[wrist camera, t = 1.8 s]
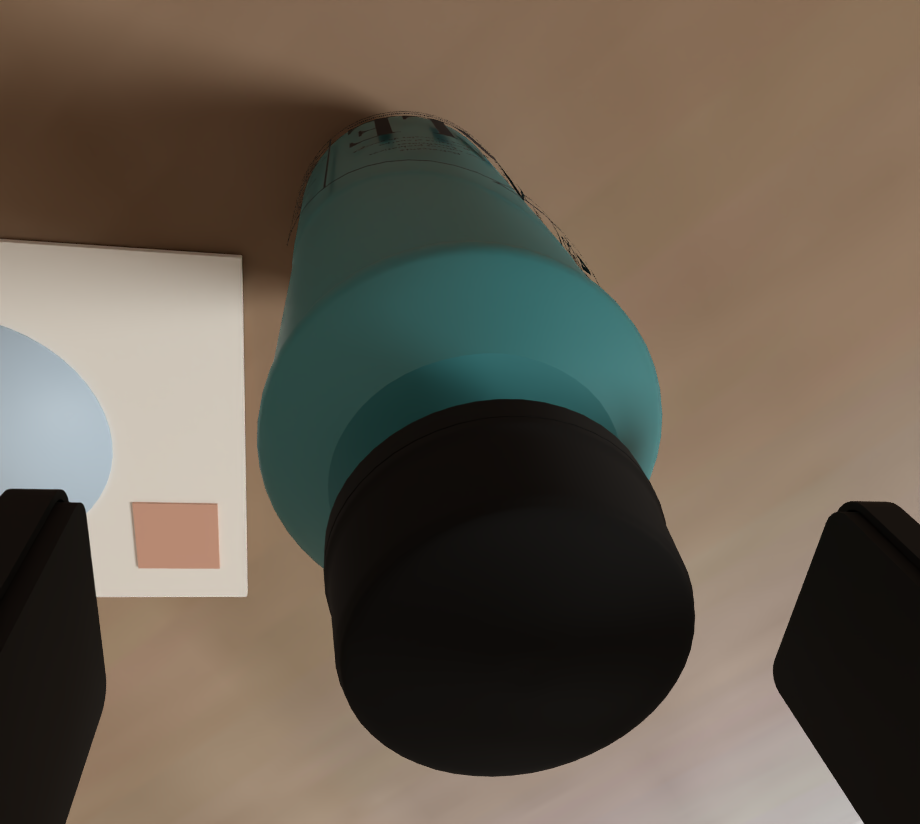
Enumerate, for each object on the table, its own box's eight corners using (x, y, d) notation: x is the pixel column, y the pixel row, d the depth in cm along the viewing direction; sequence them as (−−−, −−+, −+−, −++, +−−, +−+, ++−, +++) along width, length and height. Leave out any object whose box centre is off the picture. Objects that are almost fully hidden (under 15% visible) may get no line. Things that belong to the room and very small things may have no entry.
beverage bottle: (342, 328, 27) (342, 939, 10) (263, 136, 24) (53, 536, 7) (522, 267, 27) (850, 780, 10) (467, 65, 24) (812, 286, 6)
